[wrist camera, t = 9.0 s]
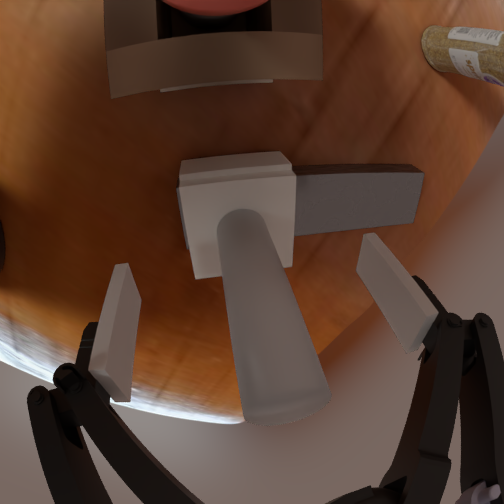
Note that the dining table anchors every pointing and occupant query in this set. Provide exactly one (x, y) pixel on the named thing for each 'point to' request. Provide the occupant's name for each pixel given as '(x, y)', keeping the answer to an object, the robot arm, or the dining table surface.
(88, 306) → the dining table surface
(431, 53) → the sprinkles bottle
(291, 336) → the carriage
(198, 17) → the red button
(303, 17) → the button box
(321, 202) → the rail
